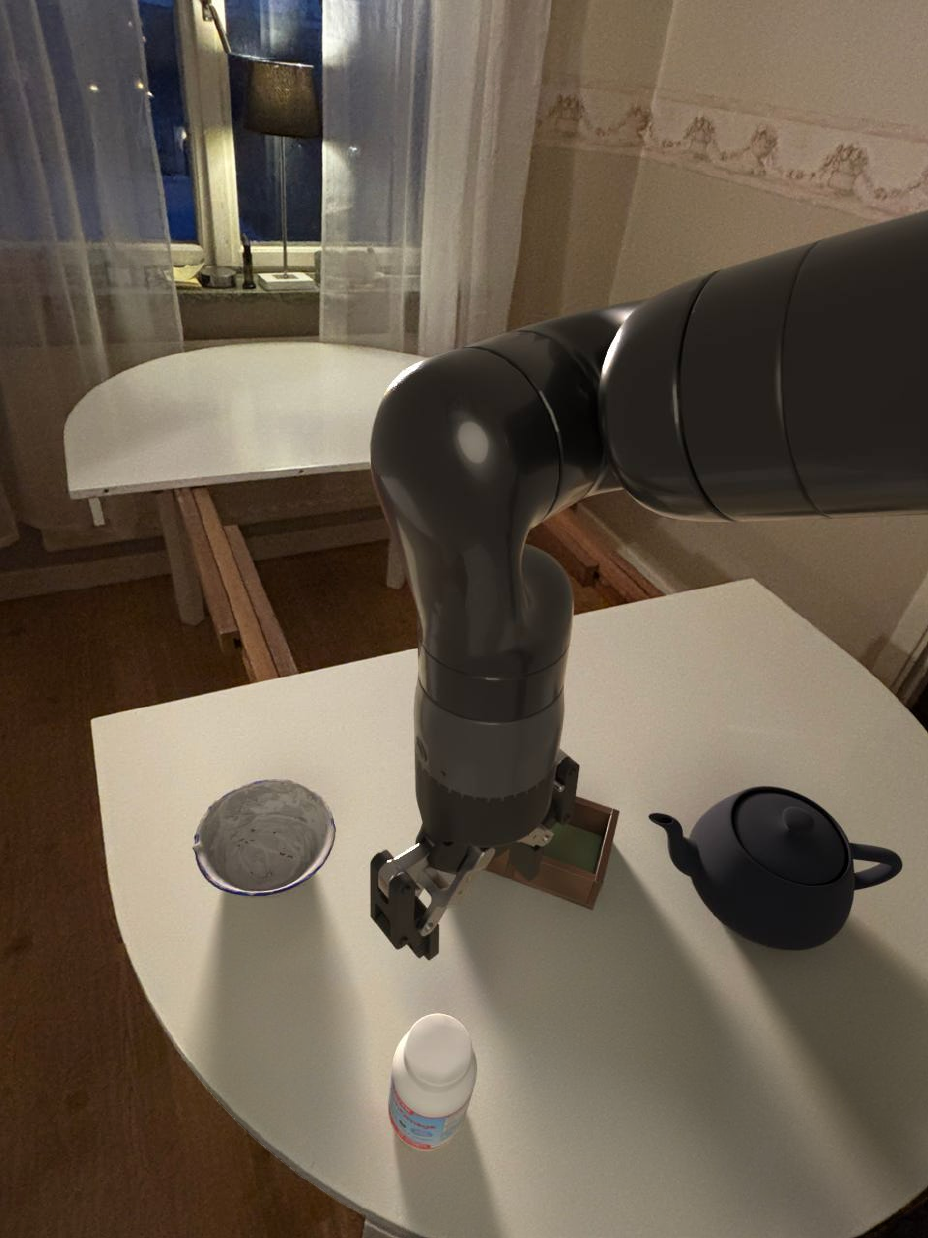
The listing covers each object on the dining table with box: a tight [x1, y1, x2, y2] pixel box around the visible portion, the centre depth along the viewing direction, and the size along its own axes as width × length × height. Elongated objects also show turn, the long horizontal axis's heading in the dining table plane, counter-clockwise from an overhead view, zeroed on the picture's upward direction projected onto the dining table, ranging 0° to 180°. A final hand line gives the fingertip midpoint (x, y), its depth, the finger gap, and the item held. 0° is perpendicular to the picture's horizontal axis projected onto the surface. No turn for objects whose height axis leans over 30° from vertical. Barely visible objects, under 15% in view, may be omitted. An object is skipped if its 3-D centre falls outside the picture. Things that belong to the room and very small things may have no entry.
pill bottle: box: [387, 1013, 478, 1152], centre depth 54 cm, size 6×6×11 cm
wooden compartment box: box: [483, 795, 621, 911], centre depth 76 cm, size 17×9×5 cm, turn 70°
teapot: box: [648, 785, 904, 952], centre depth 71 cm, size 25×16×12 cm, turn 86°
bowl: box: [191, 778, 337, 899], centre depth 71 cm, size 13×13×5 cm
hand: (475, 906), depth 48 cm, fingers open, 8 cm apart
